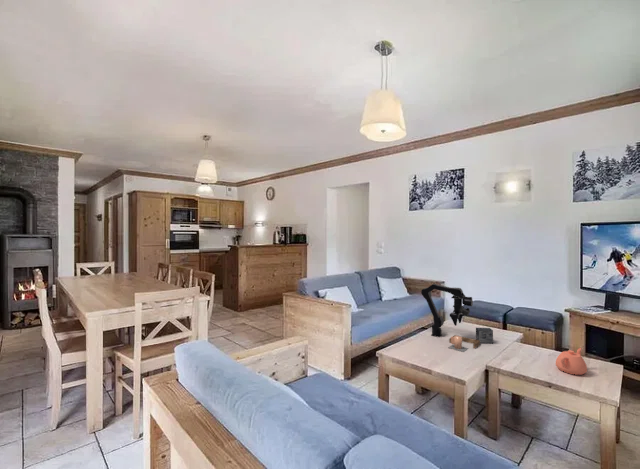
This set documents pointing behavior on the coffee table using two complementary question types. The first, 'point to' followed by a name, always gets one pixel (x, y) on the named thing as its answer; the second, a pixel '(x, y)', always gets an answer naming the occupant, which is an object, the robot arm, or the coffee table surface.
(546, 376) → the coffee table surface
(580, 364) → the orange rounded lump
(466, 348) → the mat
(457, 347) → the popsicle on stick
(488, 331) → the small box
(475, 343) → the holder
